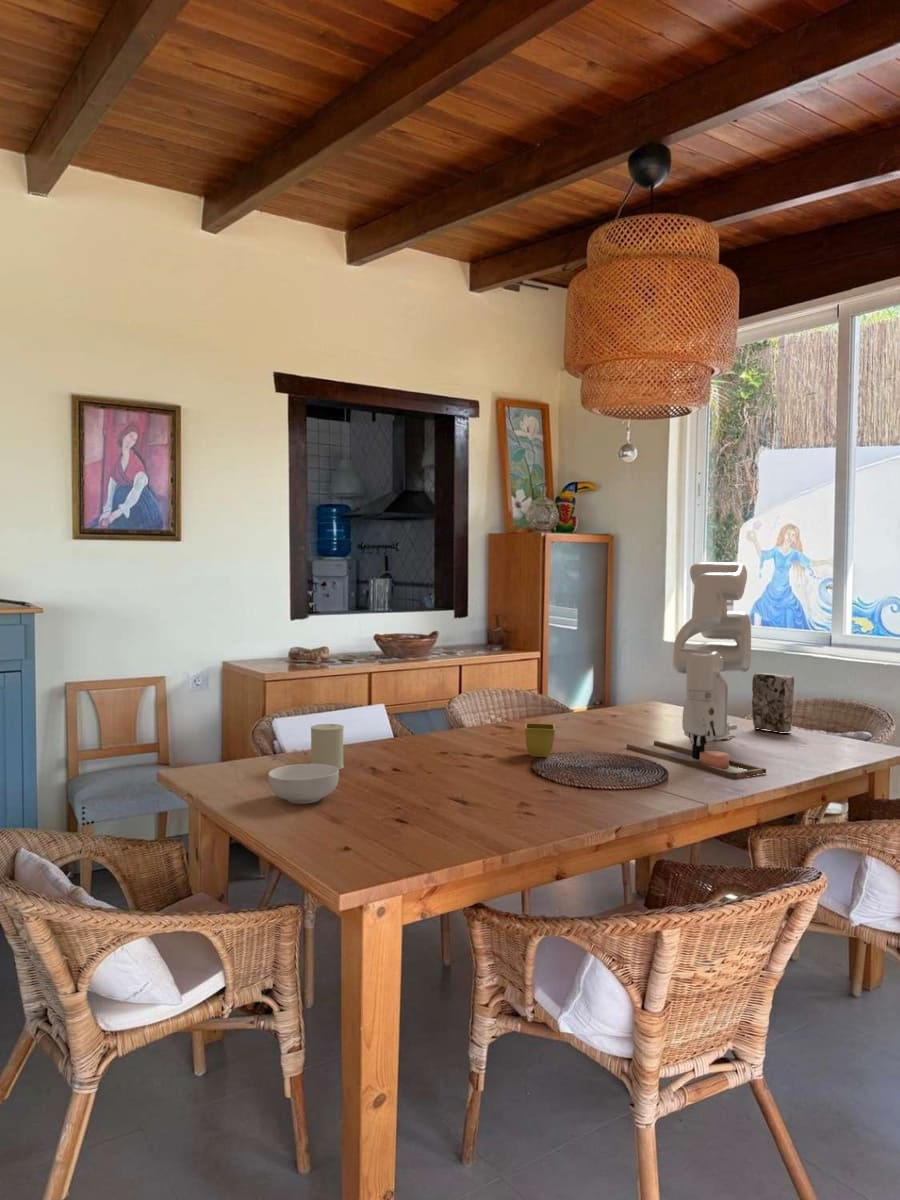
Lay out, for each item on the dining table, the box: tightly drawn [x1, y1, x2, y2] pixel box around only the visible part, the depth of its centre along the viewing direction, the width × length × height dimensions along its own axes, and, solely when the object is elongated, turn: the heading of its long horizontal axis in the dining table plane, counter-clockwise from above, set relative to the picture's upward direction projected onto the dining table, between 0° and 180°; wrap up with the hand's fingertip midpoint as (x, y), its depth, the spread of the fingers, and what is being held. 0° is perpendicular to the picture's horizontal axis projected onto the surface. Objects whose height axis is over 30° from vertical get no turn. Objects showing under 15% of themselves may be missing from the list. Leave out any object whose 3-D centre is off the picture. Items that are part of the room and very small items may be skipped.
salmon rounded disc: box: [700, 750, 730, 769], centre depth 252 cm, size 8×8×4 cm
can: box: [310, 723, 345, 771], centre depth 247 cm, size 9×9×12 cm
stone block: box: [751, 672, 795, 732], centre depth 306 cm, size 13×7×20 cm, turn 42°
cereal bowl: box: [267, 763, 340, 805], centre depth 214 cm, size 17×17×7 cm
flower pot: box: [524, 722, 556, 758], centre depth 265 cm, size 9×9×9 cm
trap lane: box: [626, 740, 767, 780], centre depth 259 cm, size 12×44×2 cm, turn 29°
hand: (698, 758), depth 257 cm, fingers closed
